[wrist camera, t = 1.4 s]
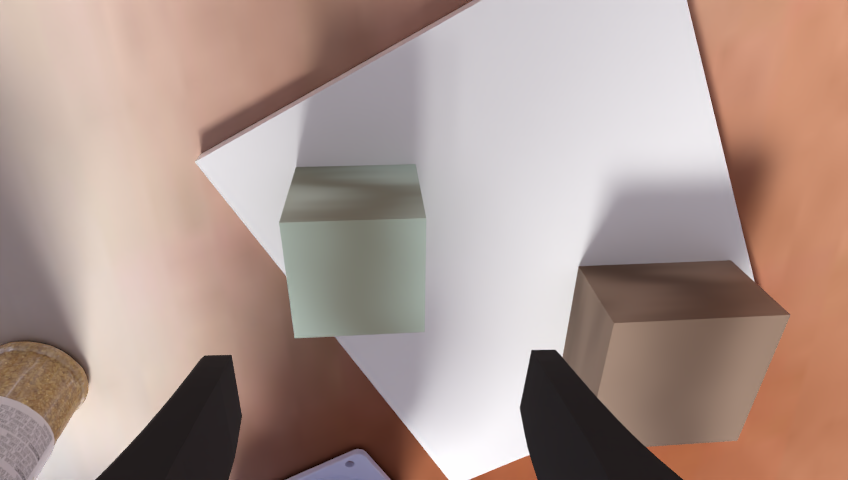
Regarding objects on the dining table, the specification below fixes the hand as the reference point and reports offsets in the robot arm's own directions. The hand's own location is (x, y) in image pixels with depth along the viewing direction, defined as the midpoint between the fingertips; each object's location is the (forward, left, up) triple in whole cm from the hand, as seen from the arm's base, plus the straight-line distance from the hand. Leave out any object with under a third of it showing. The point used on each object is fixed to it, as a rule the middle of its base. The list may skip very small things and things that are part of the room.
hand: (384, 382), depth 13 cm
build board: (+4, -6, -11) cm, 13 cm away
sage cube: (-1, 0, -10) cm, 10 cm away
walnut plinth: (+8, -12, -10) cm, 17 cm away
